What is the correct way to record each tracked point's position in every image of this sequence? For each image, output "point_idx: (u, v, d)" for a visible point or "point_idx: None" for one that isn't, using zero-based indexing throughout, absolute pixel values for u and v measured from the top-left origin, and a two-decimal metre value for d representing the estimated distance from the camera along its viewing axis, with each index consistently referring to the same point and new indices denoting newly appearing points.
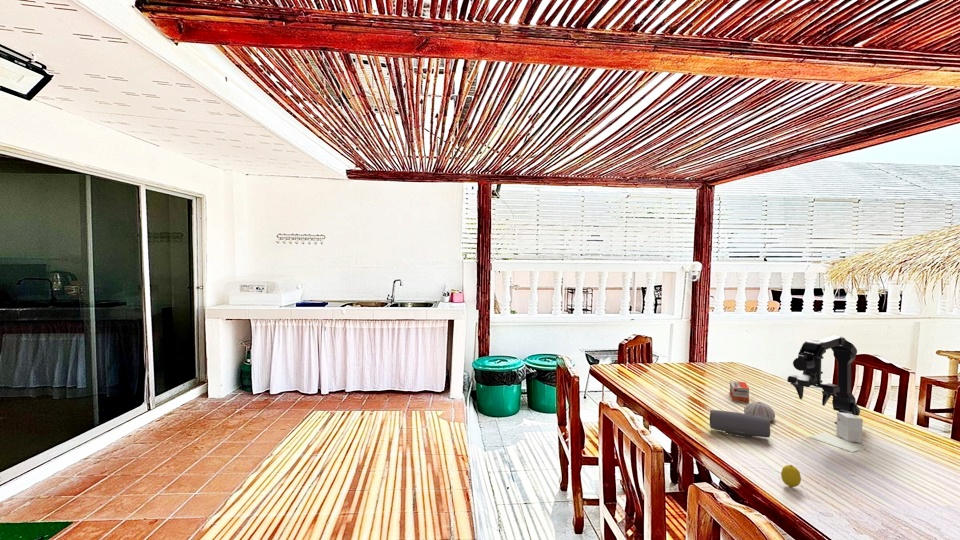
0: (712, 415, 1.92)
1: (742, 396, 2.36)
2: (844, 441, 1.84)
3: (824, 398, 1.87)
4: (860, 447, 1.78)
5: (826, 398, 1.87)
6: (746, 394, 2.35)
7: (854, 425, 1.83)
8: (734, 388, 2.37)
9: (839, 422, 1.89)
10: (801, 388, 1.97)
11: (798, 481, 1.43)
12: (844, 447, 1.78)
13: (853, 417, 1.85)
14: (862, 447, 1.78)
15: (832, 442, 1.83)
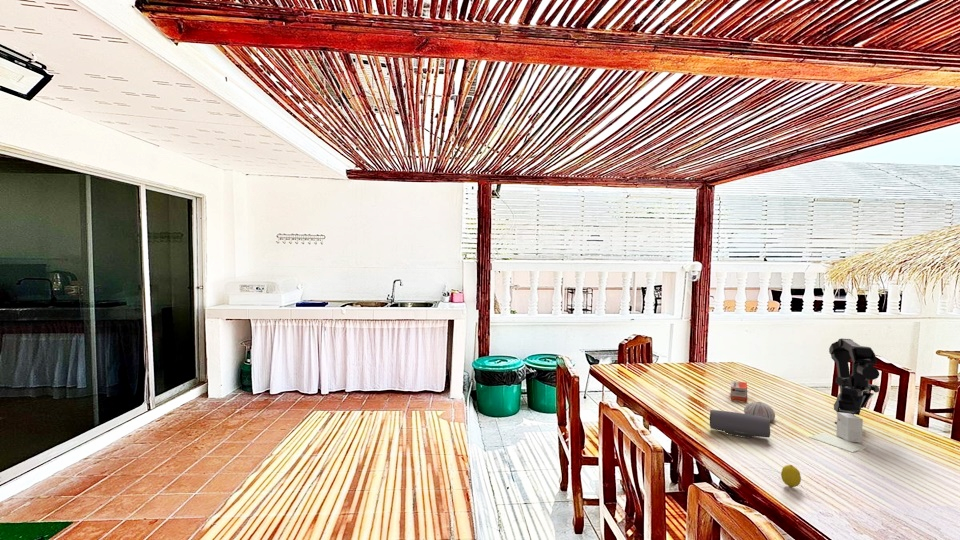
0: (712, 415, 1.92)
1: (740, 396, 2.36)
2: (844, 441, 1.84)
3: None
4: (860, 447, 1.78)
5: (855, 400, 1.89)
6: (744, 394, 2.35)
7: (854, 425, 1.83)
8: (732, 388, 2.38)
9: (839, 422, 1.89)
10: None
11: (798, 481, 1.43)
12: (844, 447, 1.78)
13: (853, 417, 1.85)
14: (862, 447, 1.78)
15: (832, 442, 1.83)
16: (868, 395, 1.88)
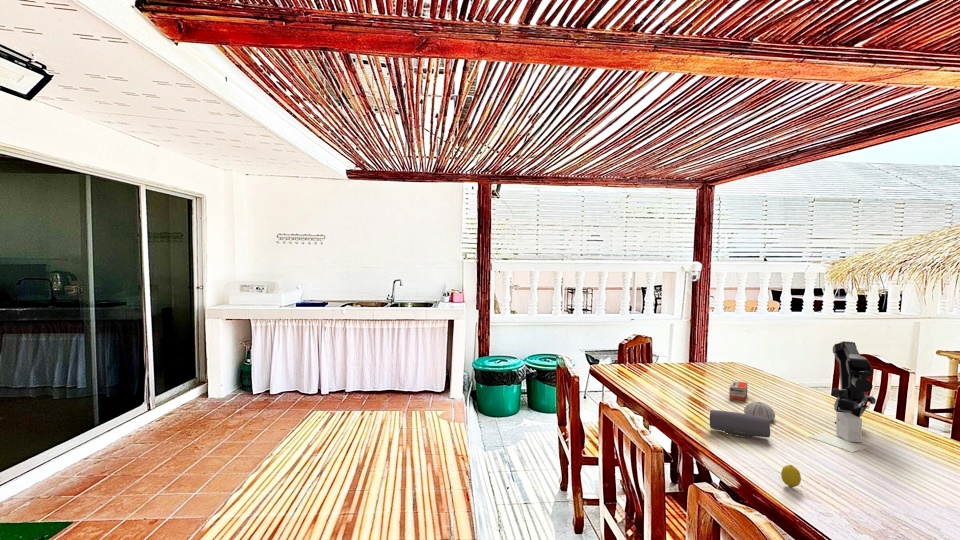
0: (712, 415, 1.92)
1: (738, 396, 2.37)
2: (844, 441, 1.84)
3: None
4: (860, 447, 1.78)
5: (854, 412, 1.89)
6: (742, 394, 2.36)
7: (853, 425, 1.83)
8: (730, 387, 2.39)
9: (839, 422, 1.89)
10: None
11: (798, 481, 1.43)
12: (844, 447, 1.78)
13: (852, 417, 1.85)
14: (862, 447, 1.78)
15: (832, 442, 1.83)
16: None
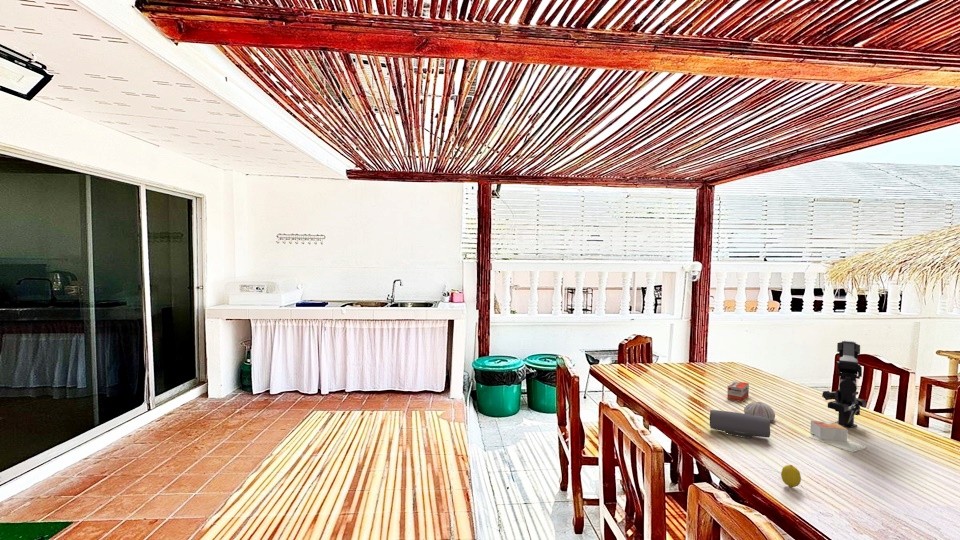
0: (712, 415, 1.92)
1: (736, 395, 2.38)
2: (844, 441, 1.84)
3: None
4: (860, 447, 1.78)
5: (844, 415, 1.86)
6: (740, 393, 2.36)
7: (828, 434, 1.85)
8: (728, 387, 2.40)
9: None
10: None
11: (798, 481, 1.43)
12: (844, 447, 1.78)
13: (818, 431, 1.87)
14: (862, 447, 1.78)
15: (832, 442, 1.83)
16: None
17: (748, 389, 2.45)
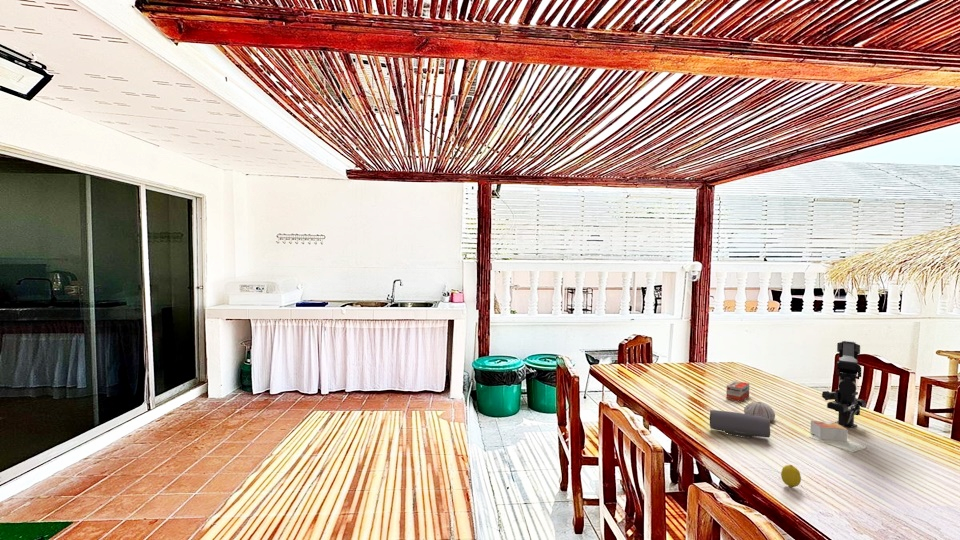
0: (712, 415, 1.92)
1: (734, 395, 2.38)
2: (844, 441, 1.84)
3: None
4: (860, 447, 1.78)
5: (843, 415, 1.85)
6: (739, 393, 2.36)
7: (828, 434, 1.85)
8: (727, 386, 2.41)
9: None
10: None
11: (798, 481, 1.43)
12: (844, 447, 1.78)
13: (818, 431, 1.87)
14: (862, 447, 1.78)
15: (832, 442, 1.83)
16: None
17: None
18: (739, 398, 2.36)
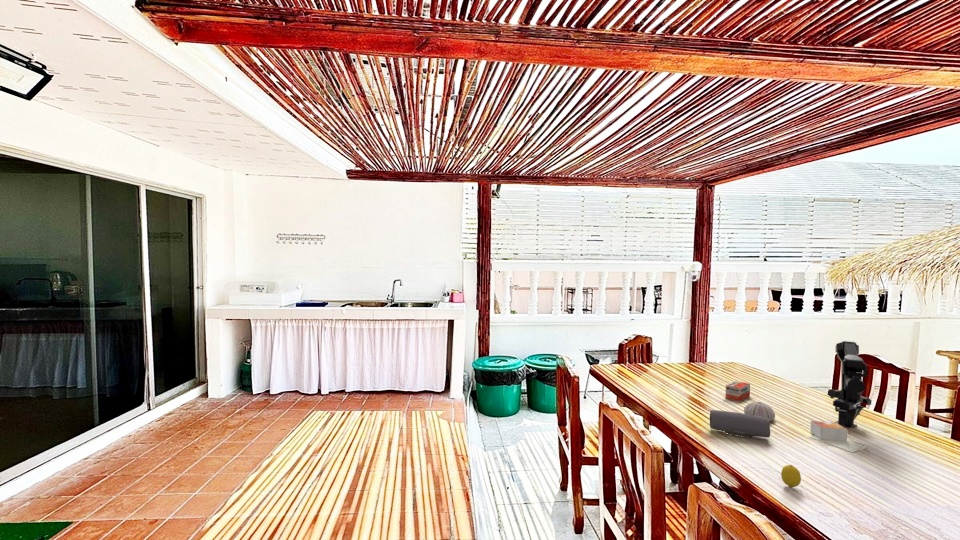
0: (712, 415, 1.92)
1: (733, 395, 2.38)
2: (844, 441, 1.84)
3: None
4: (860, 447, 1.78)
5: (849, 413, 1.88)
6: (737, 393, 2.37)
7: (828, 434, 1.85)
8: (726, 386, 2.41)
9: None
10: None
11: (798, 481, 1.43)
12: (844, 447, 1.78)
13: (818, 431, 1.87)
14: (862, 447, 1.78)
15: (832, 442, 1.83)
16: None
17: (749, 389, 2.44)
18: (738, 398, 2.37)
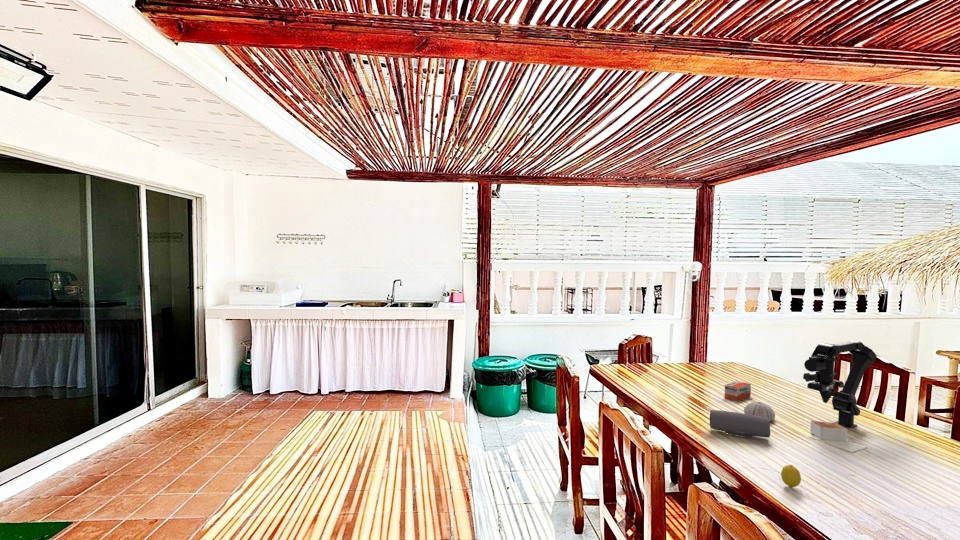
0: (712, 415, 1.92)
1: (732, 394, 2.39)
2: (844, 441, 1.84)
3: None
4: (860, 447, 1.78)
5: (823, 395, 1.99)
6: (736, 393, 2.37)
7: (828, 434, 1.85)
8: (725, 385, 2.42)
9: None
10: None
11: (798, 481, 1.43)
12: (844, 447, 1.78)
13: (818, 431, 1.87)
14: (862, 447, 1.78)
15: (832, 442, 1.83)
16: None
17: (750, 390, 2.44)
18: (736, 397, 2.37)
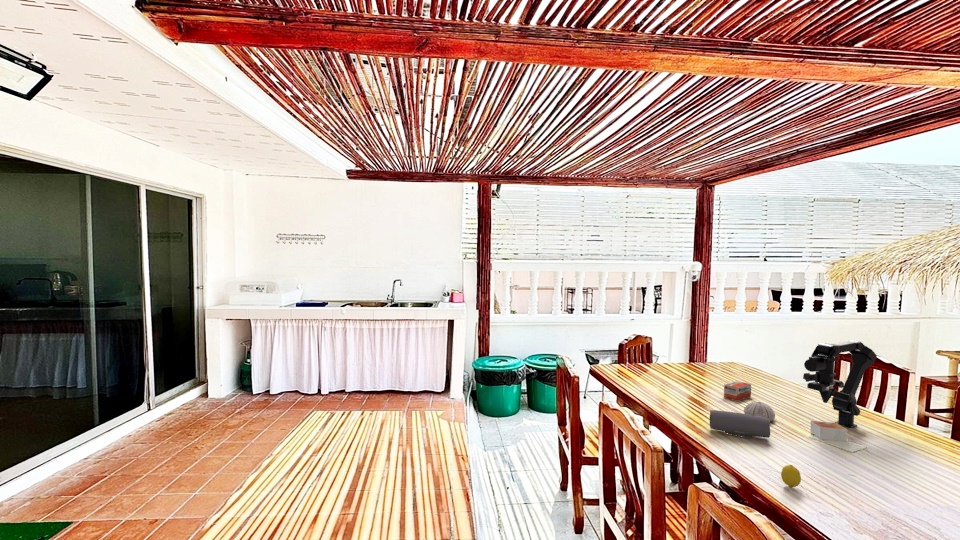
0: (712, 415, 1.92)
1: (731, 394, 2.39)
2: (844, 441, 1.84)
3: None
4: (860, 447, 1.78)
5: (823, 395, 1.99)
6: (735, 392, 2.38)
7: (828, 434, 1.85)
8: (725, 385, 2.43)
9: None
10: None
11: (798, 481, 1.43)
12: (844, 447, 1.78)
13: (818, 431, 1.87)
14: (862, 447, 1.78)
15: (832, 442, 1.83)
16: None
17: (750, 390, 2.44)
18: (735, 397, 2.38)
